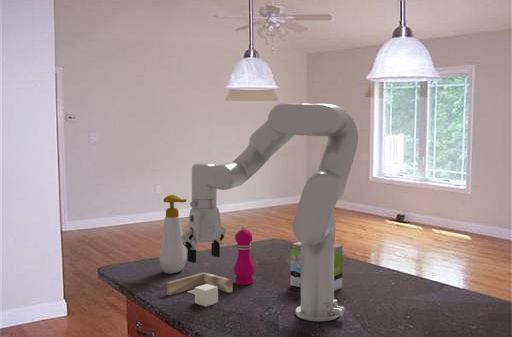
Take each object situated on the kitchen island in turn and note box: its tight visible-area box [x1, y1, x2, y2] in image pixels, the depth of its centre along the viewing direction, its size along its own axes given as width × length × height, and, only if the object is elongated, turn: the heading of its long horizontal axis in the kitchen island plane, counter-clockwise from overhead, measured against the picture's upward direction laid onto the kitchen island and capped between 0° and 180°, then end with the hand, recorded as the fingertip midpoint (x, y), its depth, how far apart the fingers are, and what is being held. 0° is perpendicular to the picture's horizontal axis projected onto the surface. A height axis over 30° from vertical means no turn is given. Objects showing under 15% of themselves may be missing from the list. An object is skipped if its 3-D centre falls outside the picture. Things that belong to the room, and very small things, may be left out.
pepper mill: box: [233, 225, 255, 286], centre depth 187 cm, size 7×7×20 cm
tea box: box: [289, 241, 343, 292], centre depth 181 cm, size 15×10×15 cm, turn 47°
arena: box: [166, 272, 233, 296], centre depth 176 cm, size 14×16×4 cm
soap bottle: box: [159, 194, 188, 275], centre depth 201 cm, size 13×10×29 cm
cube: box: [194, 284, 219, 307], centre depth 166 cm, size 5×5×5 cm
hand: (204, 259), depth 166 cm, fingers open, 9 cm apart
